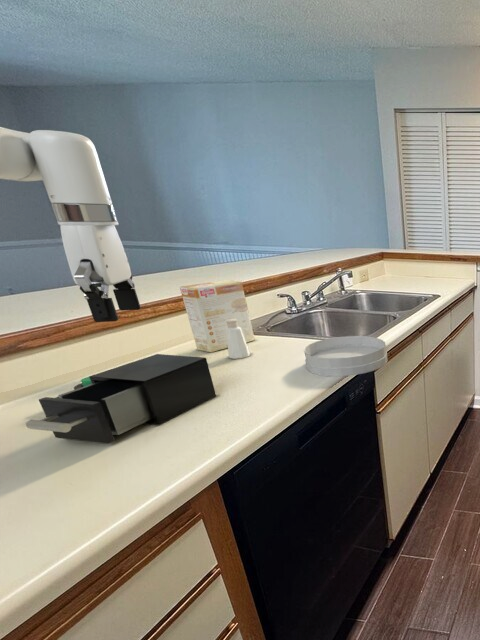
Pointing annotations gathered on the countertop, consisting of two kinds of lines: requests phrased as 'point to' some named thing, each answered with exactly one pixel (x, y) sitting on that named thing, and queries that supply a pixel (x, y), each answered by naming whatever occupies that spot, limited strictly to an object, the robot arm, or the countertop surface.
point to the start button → (86, 381)
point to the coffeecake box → (216, 312)
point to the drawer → (95, 412)
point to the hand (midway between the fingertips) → (119, 315)
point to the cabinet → (166, 383)
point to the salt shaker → (236, 340)
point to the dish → (345, 355)
